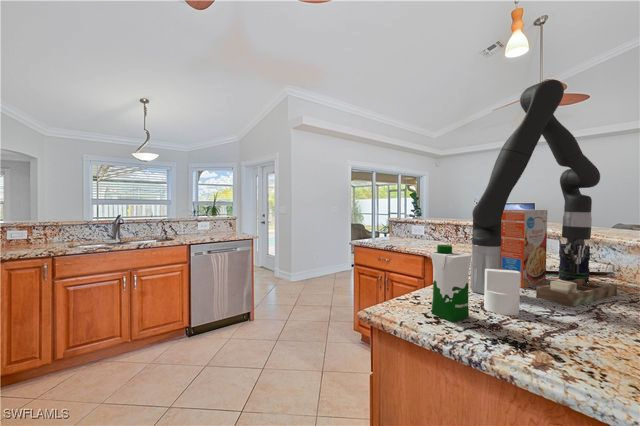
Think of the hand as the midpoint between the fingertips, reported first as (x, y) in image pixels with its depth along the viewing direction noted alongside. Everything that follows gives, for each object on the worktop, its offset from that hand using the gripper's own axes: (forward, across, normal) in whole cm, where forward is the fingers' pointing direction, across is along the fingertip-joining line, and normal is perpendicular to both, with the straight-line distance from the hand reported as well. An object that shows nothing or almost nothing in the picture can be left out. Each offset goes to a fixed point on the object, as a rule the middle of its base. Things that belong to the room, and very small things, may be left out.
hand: (573, 273), depth 100 cm
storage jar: (+8, +25, +10) cm, 28 cm away
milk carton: (+9, -55, +6) cm, 56 cm away
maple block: (+6, -9, -1) cm, 11 cm away
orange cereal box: (+8, +4, +18) cm, 20 cm away
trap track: (+8, +1, -1) cm, 8 cm away
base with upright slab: (+8, -37, +2) cm, 38 cm away
